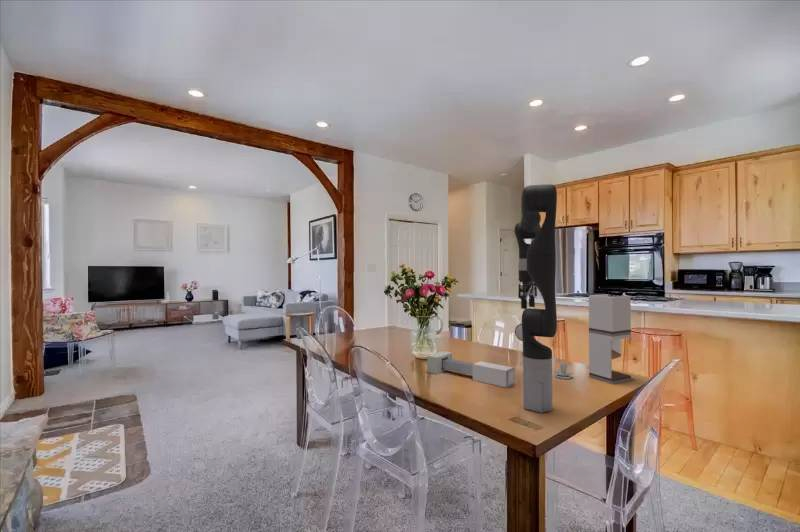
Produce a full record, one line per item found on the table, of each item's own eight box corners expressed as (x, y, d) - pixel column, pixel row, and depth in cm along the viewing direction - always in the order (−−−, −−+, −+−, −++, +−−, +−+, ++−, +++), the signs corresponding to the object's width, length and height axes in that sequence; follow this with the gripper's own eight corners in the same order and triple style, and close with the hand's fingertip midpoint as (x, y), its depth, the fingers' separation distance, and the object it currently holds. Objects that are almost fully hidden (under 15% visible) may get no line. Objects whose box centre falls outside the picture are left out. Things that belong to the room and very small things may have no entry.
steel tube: (486, 378, 150) (486, 368, 150) (434, 367, 167) (434, 358, 167) (490, 376, 153) (490, 366, 153) (439, 365, 170) (439, 356, 170)
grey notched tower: (612, 384, 146) (612, 297, 146) (589, 377, 156) (588, 295, 156) (630, 380, 151) (630, 296, 151) (606, 373, 161) (606, 294, 161)
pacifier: (571, 381, 152) (573, 376, 157) (570, 366, 151) (573, 362, 156) (552, 378, 156) (555, 374, 161) (552, 363, 156) (555, 360, 161)
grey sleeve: (507, 387, 143) (507, 371, 143) (472, 379, 153) (472, 364, 153) (514, 383, 148) (514, 367, 148) (479, 376, 158) (479, 361, 158)
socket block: (437, 374, 161) (437, 357, 161) (427, 371, 165) (427, 355, 165) (452, 368, 170) (452, 352, 170) (442, 366, 174) (442, 351, 174)
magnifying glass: (533, 365, 174) (533, 323, 174) (533, 366, 172) (532, 324, 172) (515, 363, 178) (515, 322, 178) (514, 364, 177) (514, 322, 177)
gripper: (530, 269, 146) (530, 310, 146) (542, 269, 157) (542, 306, 157) (512, 269, 151) (512, 308, 151) (525, 269, 162) (525, 305, 162)
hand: (528, 307), depth 154 cm, fingers open, 8 cm apart
